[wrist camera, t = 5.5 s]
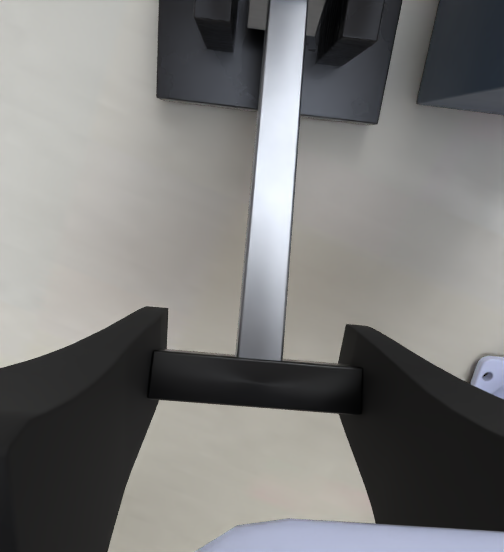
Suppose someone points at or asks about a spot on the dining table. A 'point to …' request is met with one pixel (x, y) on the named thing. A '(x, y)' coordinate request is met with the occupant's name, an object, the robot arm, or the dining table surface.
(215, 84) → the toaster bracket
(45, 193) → the dining table surface
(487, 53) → the toaster body
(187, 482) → the dining table surface
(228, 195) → the dining table surface
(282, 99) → the lever
